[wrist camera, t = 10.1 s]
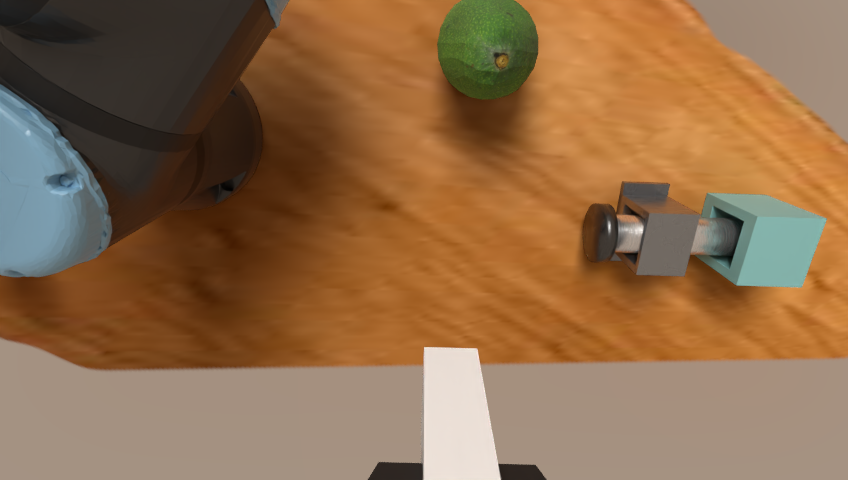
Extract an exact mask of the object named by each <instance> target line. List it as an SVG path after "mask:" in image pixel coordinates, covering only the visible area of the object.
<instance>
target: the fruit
mask: <svg viewBox="0 0 848 480" xmlns="http://www.w3.org/2000/svg"><path fill="white" fill-rule="evenodd" d="M437 45H438V59H439V62H440V65H441V67H442V70H443V73H444V74H445V76H446V78H447V80H448V81H449V83H450V84H452V85H453V86H454V87H455V88H456V89H457V90H458V91H460V92H462V93H463V94H465V95H467V96H469V97H473V98H477V99H497V98H501V97H504V96H507V95H509V94H511V93H513V92H514V91H516V90H518V89H519V88H520V86H521V85H522V84H523V83H524V82H525V80H526V79H527V78H528V76H529V75H530V73H531V72H532V70H533V69H534V66H535V63H536V59H537V55H538V35H537V31H536V26H535V24H534V22H533V20H532V18H531V16H530V14H529V13H528V12H527V11H526V10H525V9H524V8H523V7H522V6H521V5H520V4H519V3H517V2H516V1H514V0H462V1H460V2H459V3H457V4H455V5H454V7H453V8H452V9H451V10H450V12H449V13H448V14H447V16H446V18H445V20H444V22H443V24H442V26H441V28H440V33H439V38H438V43H437Z"/></svg>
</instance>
